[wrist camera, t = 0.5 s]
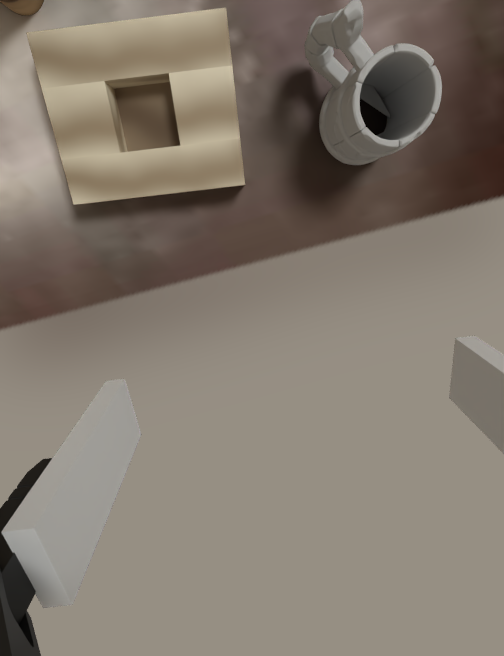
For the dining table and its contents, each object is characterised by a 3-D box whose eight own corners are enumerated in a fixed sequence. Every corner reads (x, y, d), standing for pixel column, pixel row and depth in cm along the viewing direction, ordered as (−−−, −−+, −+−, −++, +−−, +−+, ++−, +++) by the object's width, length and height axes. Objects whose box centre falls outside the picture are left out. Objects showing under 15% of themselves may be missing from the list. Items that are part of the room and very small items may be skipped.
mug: (350, 183, 36) (398, 180, 25) (269, 86, 33) (284, 32, 22) (411, 123, 34) (493, 90, 23) (332, 14, 31) (383, -86, 20)
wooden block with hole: (48, 49, 31) (26, 32, 28) (227, 26, 31) (225, 7, 28) (88, 203, 36) (73, 204, 33) (244, 185, 36) (244, 184, 33)
